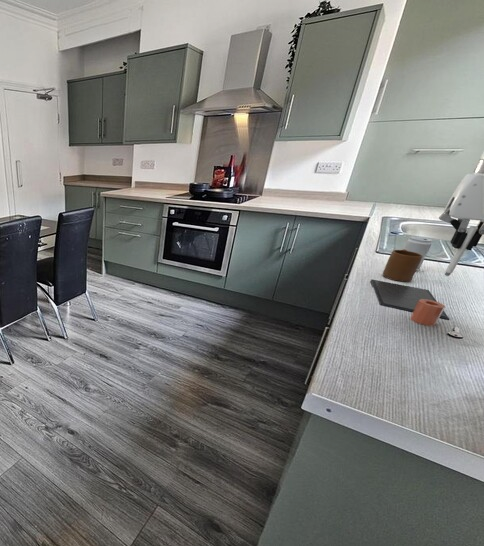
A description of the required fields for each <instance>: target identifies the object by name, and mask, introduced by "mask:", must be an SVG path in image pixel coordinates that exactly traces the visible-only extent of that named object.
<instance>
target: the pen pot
mask: <svg viewBox="0 0 484 546" xmlns="http://www.w3.org/2000/svg"><path fill="white" fill-rule="evenodd" d="M436 301H437V300H436ZM436 301H432V300H427V299H420V300H419V301H418V303H417V305H416V307H415V309H414V311H413V312H411V315H410V317H409V319H410V320H411V321H413V322H415V323H416V324H419V325H423V326H426V327H427V326H429V327H434V326H435V325H436V324H437V323H438V321H439V319H440V318H439V317H440V316H441V314H442V312H443V310H444V311H445V309H446V305H445V304H443V303H441V302H439V301H437V302H436Z"/></svg>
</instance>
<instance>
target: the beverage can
mask: <svg viewBox="0 0 484 546" xmlns="http://www.w3.org/2000/svg"><path fill="white" fill-rule="evenodd" d="M432 241H433V240H432V239H431V238H427V237H422V236H409V238H408V239H407V240H406V242H405V244H404V247H403V249H405V250H407V251H411V252H415V253H418V254H421V255H422V259H421V261H420V264H419V266H418V268H417V270H416V271H418V270H420V269H421V267H422V265H423V263H424V260H425V259H426V257H427V255H428V252H429V251H430V248H431V246H432V245H433V244H432Z"/></svg>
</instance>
